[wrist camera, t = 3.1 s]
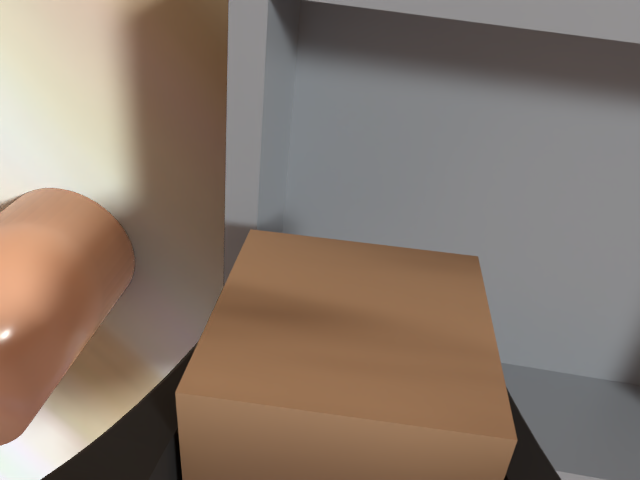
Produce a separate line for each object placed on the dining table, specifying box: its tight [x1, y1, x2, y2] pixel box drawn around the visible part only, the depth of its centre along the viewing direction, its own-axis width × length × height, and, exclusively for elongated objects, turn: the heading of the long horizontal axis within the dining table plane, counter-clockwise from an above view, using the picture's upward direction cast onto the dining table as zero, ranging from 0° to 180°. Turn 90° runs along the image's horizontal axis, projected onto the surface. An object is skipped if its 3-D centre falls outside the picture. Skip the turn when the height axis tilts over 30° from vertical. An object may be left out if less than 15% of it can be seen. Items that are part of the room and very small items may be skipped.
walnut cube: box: [175, 229, 517, 480], centre depth 12 cm, size 5×5×5 cm
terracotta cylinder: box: [0, 188, 135, 445], centre depth 19 cm, size 5×5×7 cm
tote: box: [224, 0, 640, 480], centre depth 16 cm, size 14×18×5 cm
